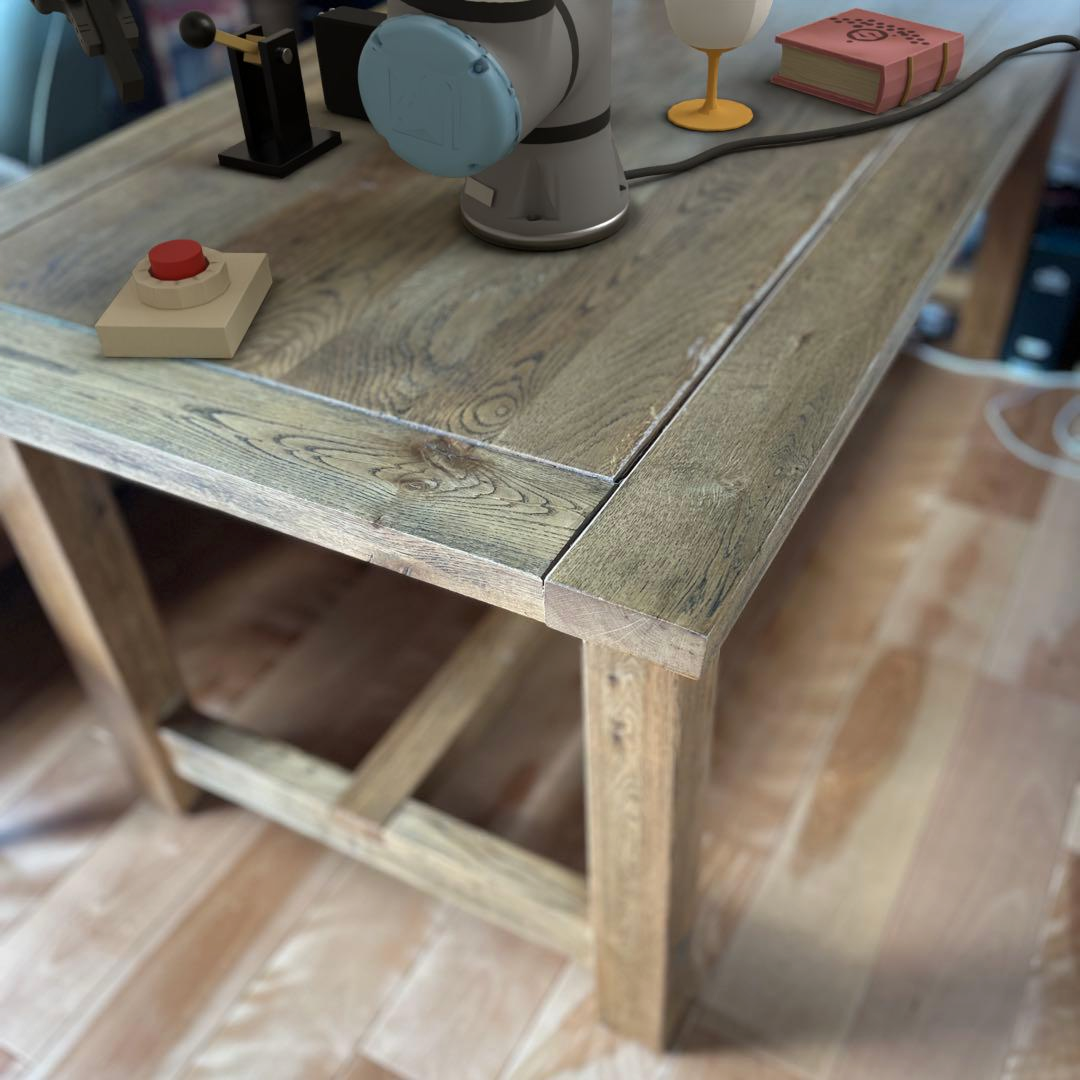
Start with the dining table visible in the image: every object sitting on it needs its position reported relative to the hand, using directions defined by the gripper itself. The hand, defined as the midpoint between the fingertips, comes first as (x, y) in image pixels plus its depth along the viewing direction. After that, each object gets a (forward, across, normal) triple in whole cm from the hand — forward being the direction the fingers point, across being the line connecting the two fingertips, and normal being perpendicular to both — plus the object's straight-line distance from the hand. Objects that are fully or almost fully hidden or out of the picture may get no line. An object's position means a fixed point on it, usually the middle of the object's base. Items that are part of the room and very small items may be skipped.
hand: (133, 91), depth 77 cm
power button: (+10, 0, -10) cm, 14 cm away
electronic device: (-11, -31, -36) cm, 49 cm away
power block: (+13, 0, -12) cm, 18 cm away
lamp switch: (-7, -18, -32) cm, 38 cm away
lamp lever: (-13, -14, -23) cm, 30 cm away
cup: (+6, -60, -20) cm, 64 cm away
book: (+7, -80, -18) cm, 83 cm away
